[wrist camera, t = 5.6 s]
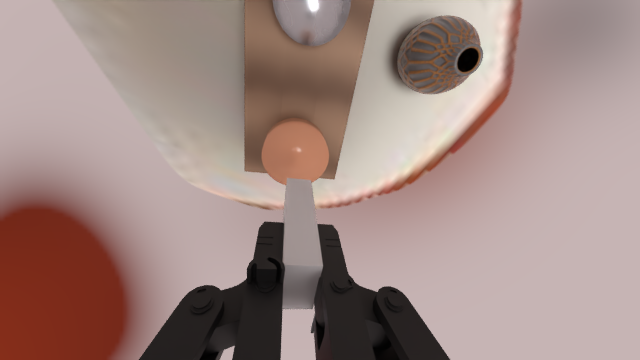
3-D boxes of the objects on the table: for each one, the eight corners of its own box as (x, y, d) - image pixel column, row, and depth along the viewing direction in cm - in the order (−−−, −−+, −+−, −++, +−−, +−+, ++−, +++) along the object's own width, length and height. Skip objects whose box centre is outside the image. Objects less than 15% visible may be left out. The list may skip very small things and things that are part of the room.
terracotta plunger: (270, 102, 23) (262, 120, 17) (324, 109, 24) (334, 129, 18) (267, 153, 26) (260, 183, 20) (316, 158, 26) (323, 188, 21)
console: (256, -61, 20) (244, -97, 15) (364, -33, 22) (386, -57, 17) (252, 149, 30) (244, 171, 25) (327, 157, 32) (334, 179, 26)
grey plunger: (279, -34, 20) (274, -65, 14) (341, -19, 21) (359, -42, 15) (275, 40, 23) (270, 38, 17) (330, 50, 24) (342, 52, 18)
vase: (460, 42, 26) (528, 41, 18) (420, 98, 29) (465, 117, 21) (416, 4, 24) (473, -14, 16) (377, 69, 26) (410, 78, 19)
